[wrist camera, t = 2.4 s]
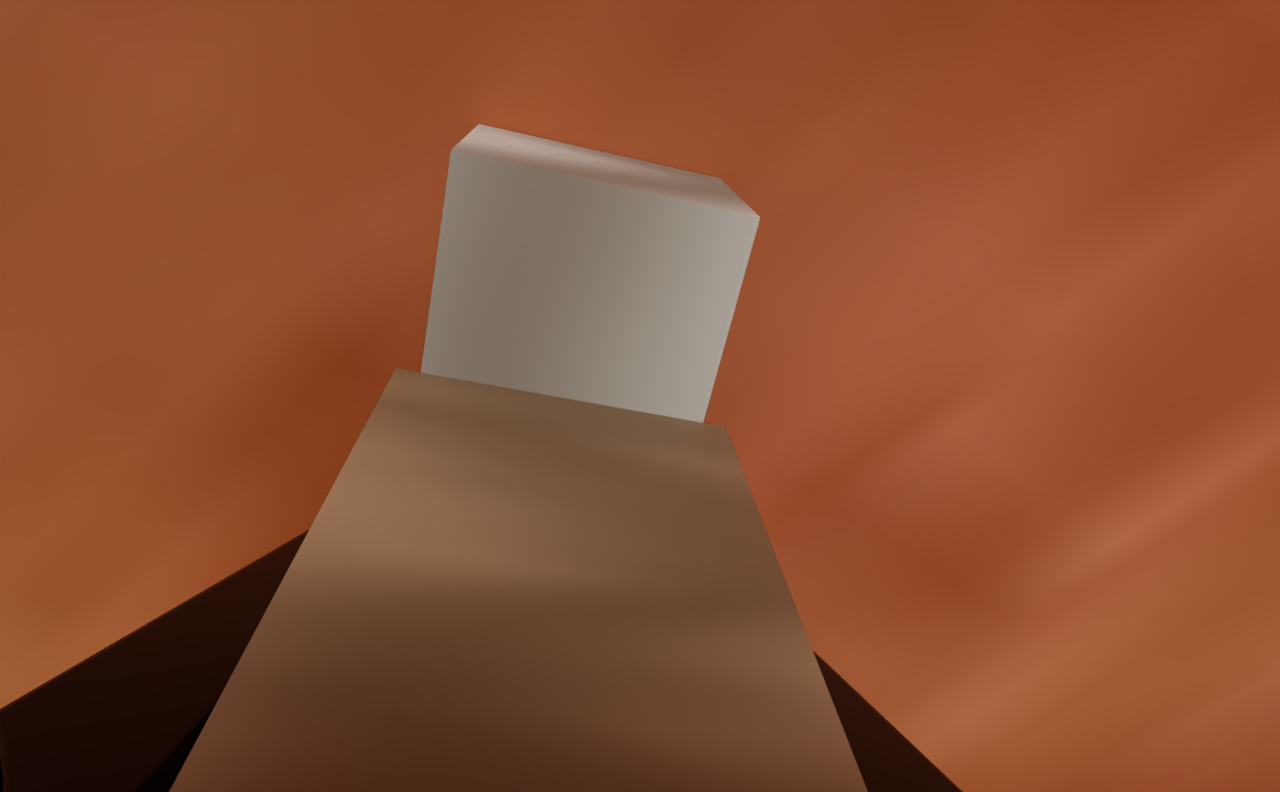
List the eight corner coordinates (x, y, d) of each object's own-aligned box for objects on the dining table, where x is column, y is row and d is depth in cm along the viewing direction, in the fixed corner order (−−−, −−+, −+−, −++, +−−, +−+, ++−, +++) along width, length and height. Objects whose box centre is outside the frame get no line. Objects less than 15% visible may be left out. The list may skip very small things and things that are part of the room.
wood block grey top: (738, 182, 11) (1328, 702, 2) (606, 678, 14) (660, 1690, 5) (457, 118, 10) (-79, 505, 2) (384, 651, 13) (53, 1727, 5)
